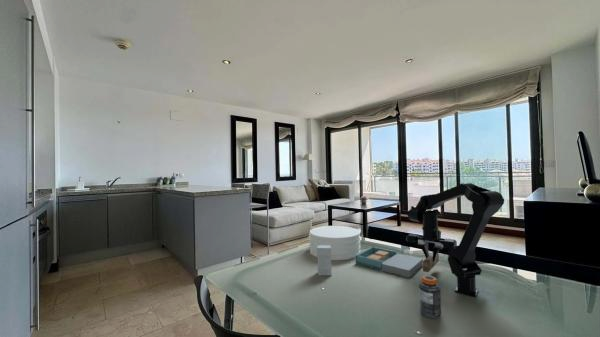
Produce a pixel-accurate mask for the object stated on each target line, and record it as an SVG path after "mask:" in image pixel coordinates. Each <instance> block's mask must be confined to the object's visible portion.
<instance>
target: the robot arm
mask: <svg viewBox="0 0 600 337" xmlns="http://www.w3.org/2000/svg"><path fill="white" fill-rule="evenodd" d="M461 197H465V199H466V200H468V201H469V202H471V208H472V215H471V217H470V219H469V222H468V225H467V227H466V229H465V231H464V234H463V236H462V238H461V240H460V242H459V244H458V242H457V240H456V239H455V238H454V239H452V238H444V239H441V238H442V231H441V230H439V225H438V224H439V223H438V221H439V220H438V216H442V215H443V214H442V212H440V210H439V209H438V208H440V207H442V206H443V205H444V204H445V203H446V202H449V201H452V200H456V199H459V198H461ZM504 204H505V198H504V196H503V194H501V193H500V192H499V191H496V190H490V189H487V188H485V187H481V186H479V185H476V184H474V183H472V182H462V183H460V184H458V185H455V186H453V187H451V188H449V189H445V190H442V191H440V192H438V193H434V194H426V195H422V196H420V198H419V201H418V202H417V204H416V205H412V206H410V209H409V210H408V212H407V218H408V219H409V220H410V221H413V222H417V223H422V227H421V230H422V236H420V235H419V234H417V233H411V232H410V233H409V234H408V235H406V238H405V241H406V242H407V243H411V244H413V243H415V242H417V246H419V247H420V249H421V250H422V252H423V255H424V256H425V259H426V258H427V257H428V256H429V255H430V254H429V244H434V246H432V253H433V262H435V260H436V257H437V254H438V253H439V252H440V250H442V249H443V248H444V249H447V250H449V252H448V253H446V255H447V261H448V265H449V268H450V272H451V273H452V275H454V276H455V277H456V283H457V284H456V287H455V289H454V292H456V293H460V294H464V295H468V296H472V297H477V295H478V293H479V292H478V291H479V288H476V286H477V282H476V276H481V274H482V272H483V271H482V268H481V267H480V266H479V265H478V263H477V262H476V258H477V257H476V252H475V250H476V248H477V246H478V244H479V242H480V240H481V238H482V236H483V233H484V231H485V229H486V227H487V225H488V223H489V220H490V218H492V217H493V216H494V215H495V214H496V213H498V212H499V211H500V209H501V208H502V207H503V205H504Z"/></svg>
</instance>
